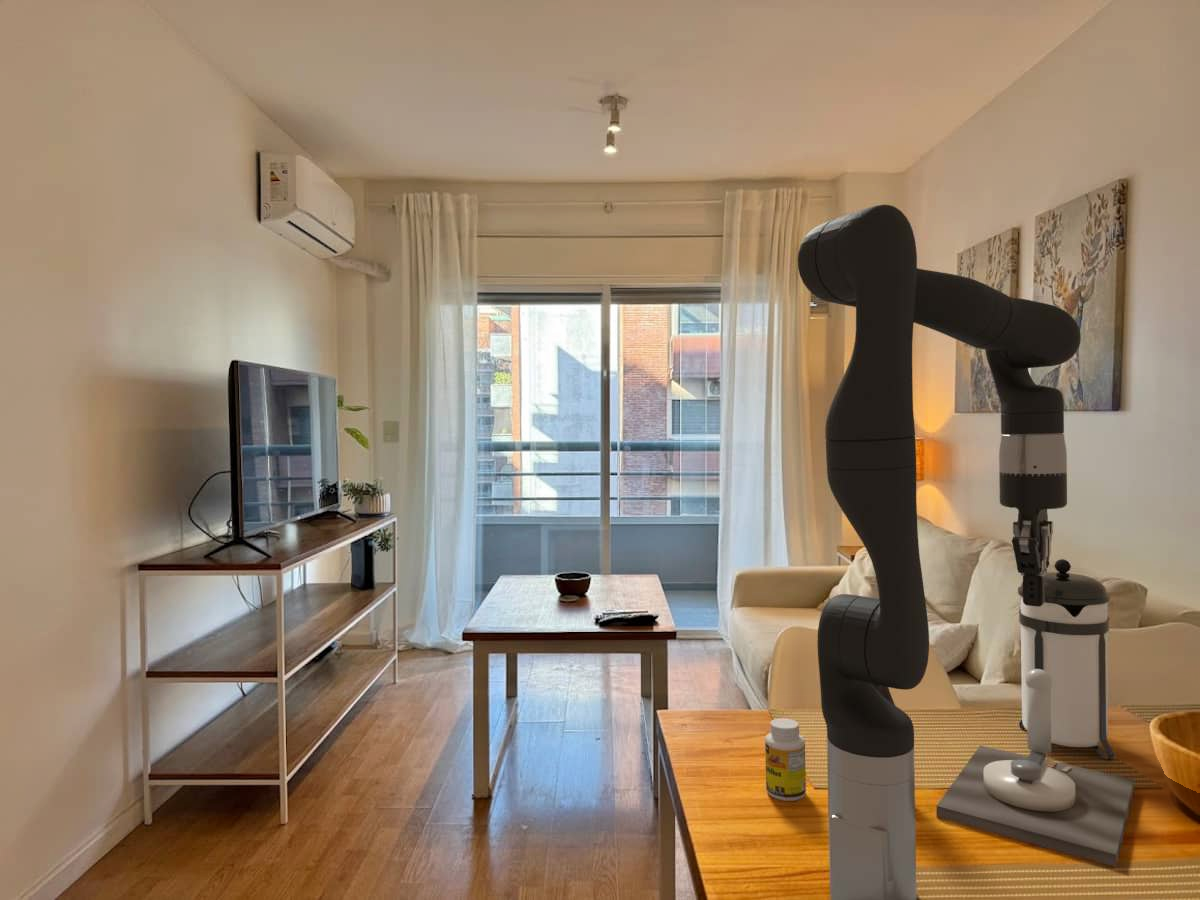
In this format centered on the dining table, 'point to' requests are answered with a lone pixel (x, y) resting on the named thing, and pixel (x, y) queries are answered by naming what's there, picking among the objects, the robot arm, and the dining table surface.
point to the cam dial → (1032, 759)
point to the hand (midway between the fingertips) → (1033, 604)
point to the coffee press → (1070, 656)
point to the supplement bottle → (785, 761)
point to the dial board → (1073, 831)
